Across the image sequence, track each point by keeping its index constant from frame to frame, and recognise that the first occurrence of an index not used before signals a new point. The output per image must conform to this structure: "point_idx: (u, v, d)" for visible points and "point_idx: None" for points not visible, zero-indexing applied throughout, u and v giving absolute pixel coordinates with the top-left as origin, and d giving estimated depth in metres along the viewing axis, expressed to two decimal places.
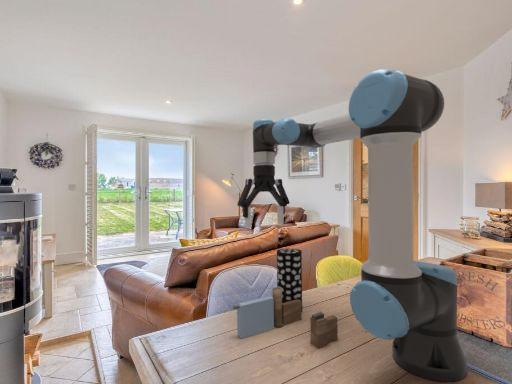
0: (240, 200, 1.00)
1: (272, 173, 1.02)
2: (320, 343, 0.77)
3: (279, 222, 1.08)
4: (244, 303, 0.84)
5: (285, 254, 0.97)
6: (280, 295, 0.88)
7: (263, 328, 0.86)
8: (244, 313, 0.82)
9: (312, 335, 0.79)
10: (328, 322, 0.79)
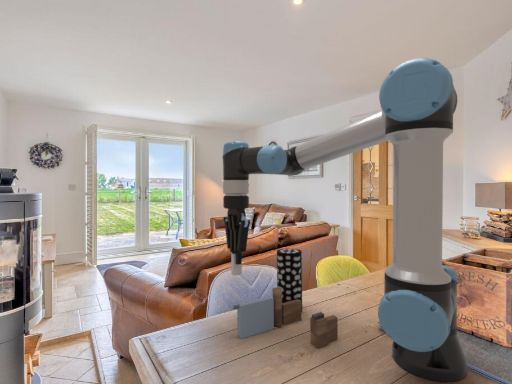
0: None
1: (226, 205, 0.86)
2: (320, 343, 0.77)
3: None
4: (244, 303, 0.84)
5: (285, 254, 0.97)
6: (280, 295, 0.88)
7: (263, 328, 0.86)
8: (244, 313, 0.82)
9: (312, 335, 0.79)
10: (328, 322, 0.79)
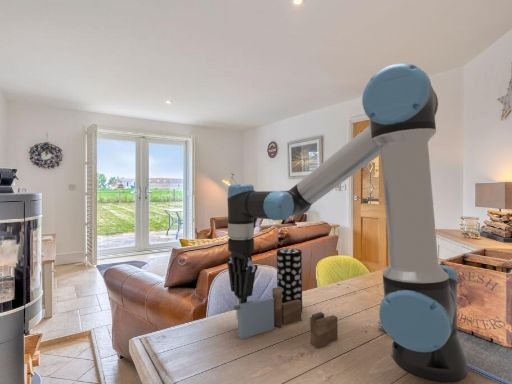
0: None
1: (232, 250, 0.84)
2: (320, 343, 0.77)
3: None
4: (245, 303, 0.83)
5: (285, 254, 0.97)
6: (280, 295, 0.88)
7: (263, 328, 0.86)
8: (245, 313, 0.82)
9: (312, 335, 0.79)
10: (328, 322, 0.79)
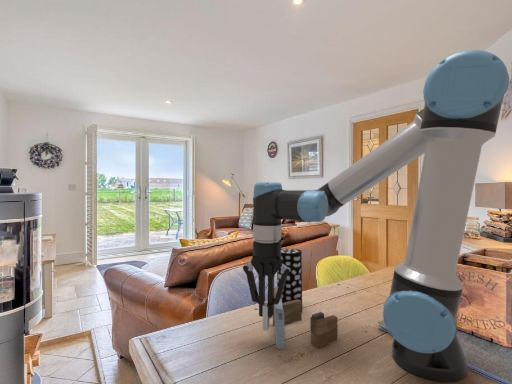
0: None
1: (268, 255, 0.76)
2: (320, 343, 0.77)
3: None
4: (279, 311, 0.78)
5: (285, 254, 0.97)
6: None
7: None
8: None
9: (312, 335, 0.79)
10: (328, 322, 0.79)
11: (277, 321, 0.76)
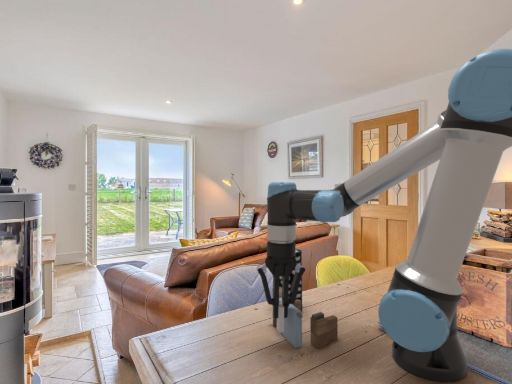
0: None
1: (288, 255, 0.75)
2: (320, 343, 0.77)
3: None
4: (294, 309, 0.79)
5: None
6: (280, 295, 0.88)
7: None
8: None
9: (312, 335, 0.79)
10: (328, 322, 0.79)
11: (295, 320, 0.77)
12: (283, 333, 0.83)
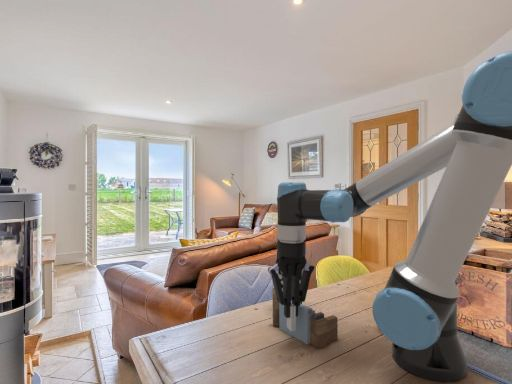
0: (277, 297, 0.78)
1: (301, 254, 0.76)
2: (320, 343, 0.77)
3: None
4: (304, 307, 0.80)
5: None
6: None
7: None
8: None
9: (312, 335, 0.79)
10: (328, 322, 0.79)
11: (308, 317, 0.79)
12: (289, 332, 0.84)
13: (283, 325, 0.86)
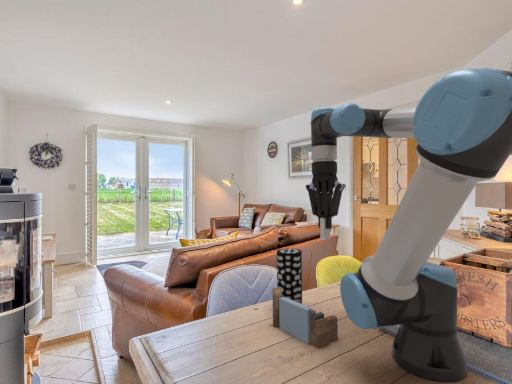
0: None
1: (320, 170, 0.87)
2: (320, 343, 0.77)
3: None
4: (304, 307, 0.81)
5: (285, 254, 0.97)
6: (280, 295, 0.88)
7: None
8: None
9: (312, 335, 0.79)
10: (328, 322, 0.79)
11: (308, 317, 0.79)
12: (289, 332, 0.84)
13: (283, 325, 0.86)
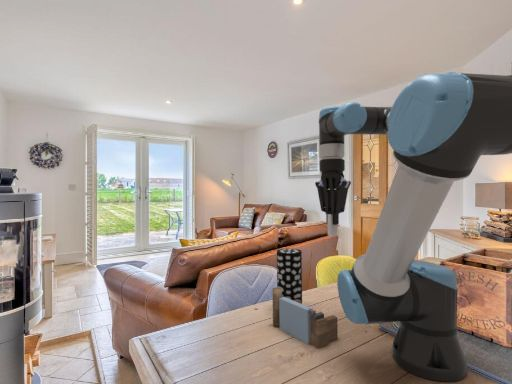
0: None
1: (326, 168, 0.90)
2: (320, 343, 0.77)
3: None
4: (304, 307, 0.81)
5: (285, 254, 0.97)
6: (280, 295, 0.88)
7: None
8: None
9: (312, 335, 0.79)
10: (328, 322, 0.79)
11: (308, 317, 0.79)
12: (289, 332, 0.84)
13: (283, 325, 0.86)
